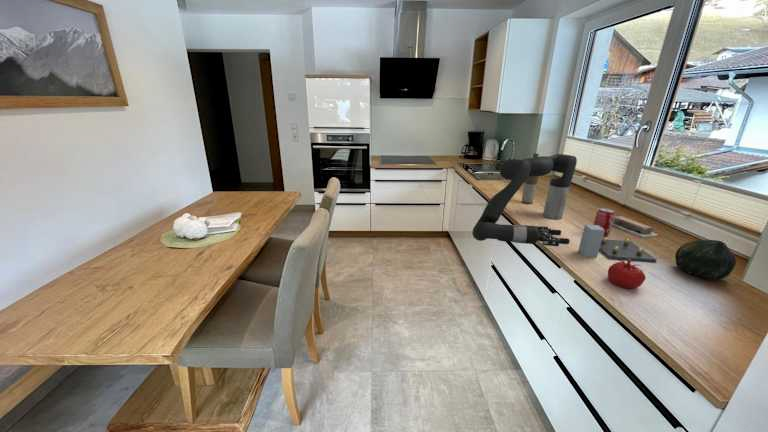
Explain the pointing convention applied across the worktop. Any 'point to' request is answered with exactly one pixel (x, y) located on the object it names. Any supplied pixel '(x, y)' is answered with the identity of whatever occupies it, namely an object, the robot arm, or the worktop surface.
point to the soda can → (605, 219)
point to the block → (591, 240)
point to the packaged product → (633, 227)
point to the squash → (706, 259)
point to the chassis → (624, 250)
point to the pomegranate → (626, 274)
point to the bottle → (530, 187)
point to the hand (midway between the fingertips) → (564, 237)
